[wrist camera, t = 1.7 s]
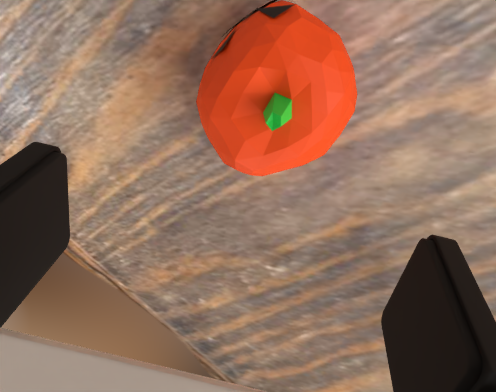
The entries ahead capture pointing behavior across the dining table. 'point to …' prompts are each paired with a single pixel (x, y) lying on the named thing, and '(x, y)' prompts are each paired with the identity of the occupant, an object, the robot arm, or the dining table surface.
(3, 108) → the dining table surface
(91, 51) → the dining table surface
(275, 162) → the pumpkin
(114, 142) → the dining table surface
